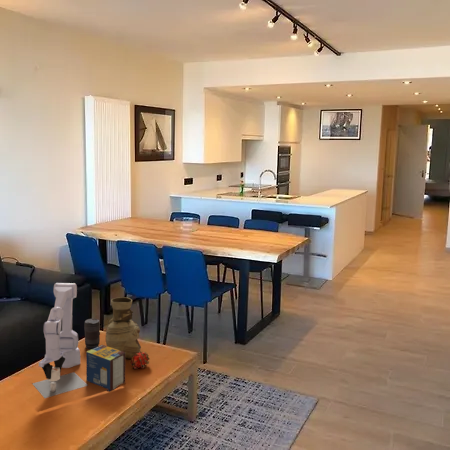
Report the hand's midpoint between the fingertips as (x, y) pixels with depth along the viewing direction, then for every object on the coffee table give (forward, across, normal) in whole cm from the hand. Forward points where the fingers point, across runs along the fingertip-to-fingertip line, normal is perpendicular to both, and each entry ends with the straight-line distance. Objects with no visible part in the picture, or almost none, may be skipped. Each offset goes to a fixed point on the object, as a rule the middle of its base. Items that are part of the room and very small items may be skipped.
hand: (53, 375), depth 219 cm
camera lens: (+8, -47, -18) cm, 51 cm away
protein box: (+8, -19, +14) cm, 25 cm away
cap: (+1, 0, 0) cm, 1 cm away
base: (+8, -6, -1) cm, 10 cm away
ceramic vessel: (+8, -49, +1) cm, 49 cm away
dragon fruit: (+8, -40, +18) cm, 45 cm away
